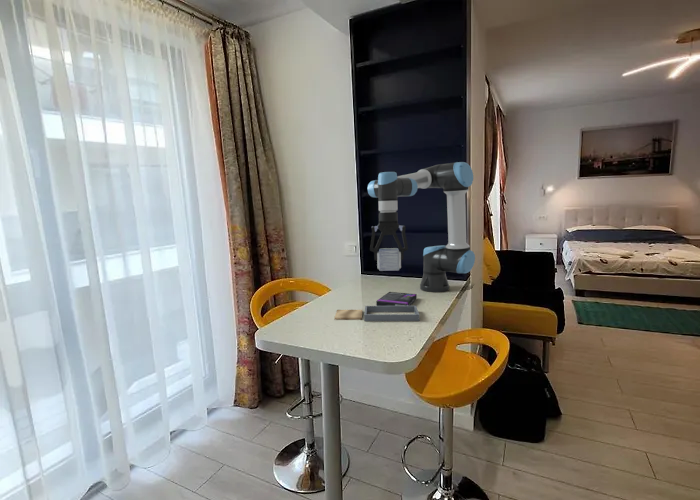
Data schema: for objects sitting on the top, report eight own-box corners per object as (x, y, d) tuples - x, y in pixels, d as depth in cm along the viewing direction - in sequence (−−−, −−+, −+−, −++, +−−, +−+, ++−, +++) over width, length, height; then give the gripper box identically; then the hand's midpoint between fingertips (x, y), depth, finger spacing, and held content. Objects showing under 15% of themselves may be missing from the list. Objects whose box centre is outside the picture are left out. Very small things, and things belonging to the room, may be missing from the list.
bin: (415, 311, 156) (415, 305, 156) (419, 321, 143) (419, 314, 143) (365, 311, 157) (365, 305, 157) (364, 321, 145) (364, 314, 144)
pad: (362, 311, 158) (362, 309, 157) (361, 319, 147) (361, 317, 147) (337, 311, 158) (337, 309, 158) (334, 319, 147) (334, 317, 147)
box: (406, 312, 158) (417, 300, 176) (406, 304, 158) (417, 293, 175) (375, 308, 164) (389, 297, 182) (375, 301, 163) (389, 290, 181)
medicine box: (398, 268, 150) (398, 247, 149) (399, 270, 145) (398, 249, 144) (379, 269, 151) (379, 248, 150) (379, 271, 146) (378, 249, 145)
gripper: (413, 210, 148) (413, 265, 151) (362, 212, 149) (363, 266, 152) (415, 211, 141) (415, 269, 144) (361, 212, 142) (363, 270, 145)
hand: (389, 267), depth 148 cm, fingers closed on medicine box, 8 cm apart
